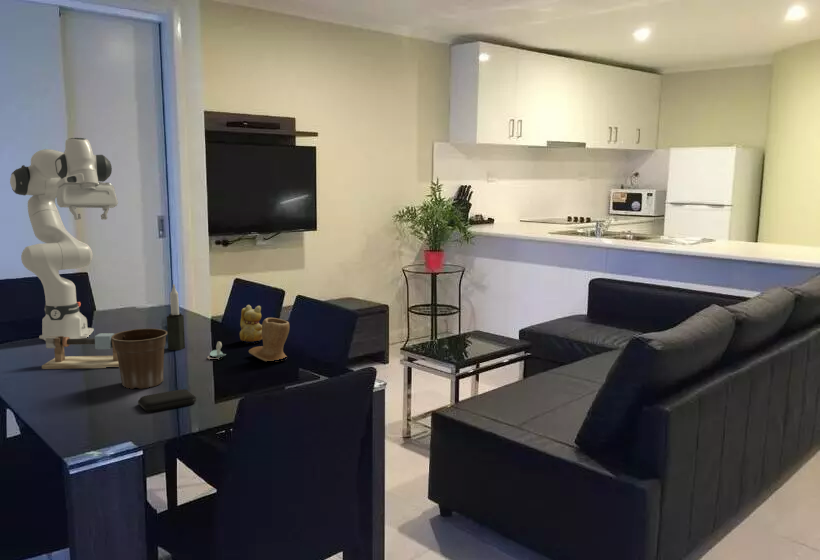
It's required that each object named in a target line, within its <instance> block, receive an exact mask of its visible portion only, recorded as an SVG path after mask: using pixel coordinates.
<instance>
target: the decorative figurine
mask: <svg viewBox="0 0 820 560" xmlns="http://www.w3.org/2000/svg"><path fill="white" fill-rule="evenodd" d="M261 311H262V306H261V305H257V306H255V308H254V309H253V308H252V306H251V305H250V304H247V305H246V307H243V308H241V312H240V314H241V315H240V322H239V325H240V329H241V330H240V331H239V338H240V339H239V340H240V341H242V342H243V341H246V342H254V341H259V342H260V341H261V340H262V341H263V339H262V323H260V321H261V319H262V312H261Z"/></svg>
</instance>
